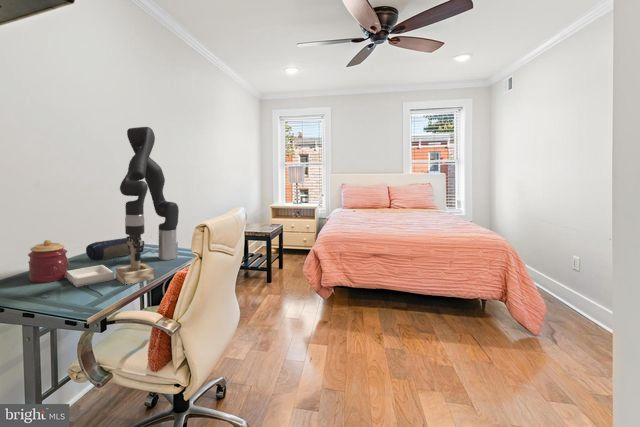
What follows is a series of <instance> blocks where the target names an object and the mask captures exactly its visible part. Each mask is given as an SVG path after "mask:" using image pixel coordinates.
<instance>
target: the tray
mask: <svg viewBox="0 0 640 427" xmlns="http://www.w3.org/2000/svg"><path fill="white" fill-rule="evenodd" d="M66 274H67V277H66V279H67V280H68V281H69V282H70V283H71V284H72V283H73V284H72V285H73V286H74V287H75V286H76V288H79V287H80V288H81V287H84V285H85V286H89V285H93V284H94V285H95V284H98V283H102V282H109V281H113V280H114V279H115V273H114V271H112V270H111V269H110V268H108V267H107V266H105V265H104V264H100V265H94V266H89V267H88V266H87V267H81V268H76V269H71V270H68V271H66ZM88 284H89V285H88Z"/></svg>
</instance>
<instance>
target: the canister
mask: <svg viewBox="0 0 640 427" xmlns="http://www.w3.org/2000/svg"><path fill="white" fill-rule="evenodd" d="M64 248H65V245H64V244H61V243H59V242H52V240H50V239H46V240H44V241H43V243H38V244H36V245H34V246H33V247H30V249H29V250H30V251H31V252H29V253H27V256H28V257H29V260H28V269H29V274H28V277H29V278H28V279H29V281H30V282H32V283H39V284H43V283H52V282H57V281H60V280H63V279H65V278H67V274H66V271H69V270H68V268H67V260H68V257H67V255H66V254H67V252H68V250H66V249H64Z"/></svg>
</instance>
